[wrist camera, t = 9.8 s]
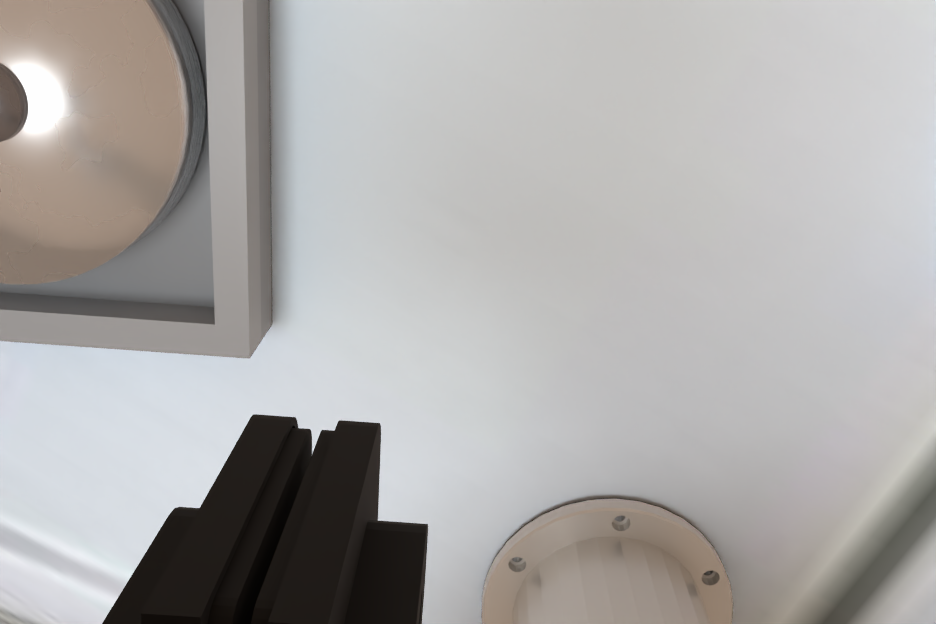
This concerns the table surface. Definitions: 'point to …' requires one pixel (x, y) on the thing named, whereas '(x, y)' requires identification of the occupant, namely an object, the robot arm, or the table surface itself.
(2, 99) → the dial
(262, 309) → the tray
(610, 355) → the table surface
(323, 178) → the table surface
